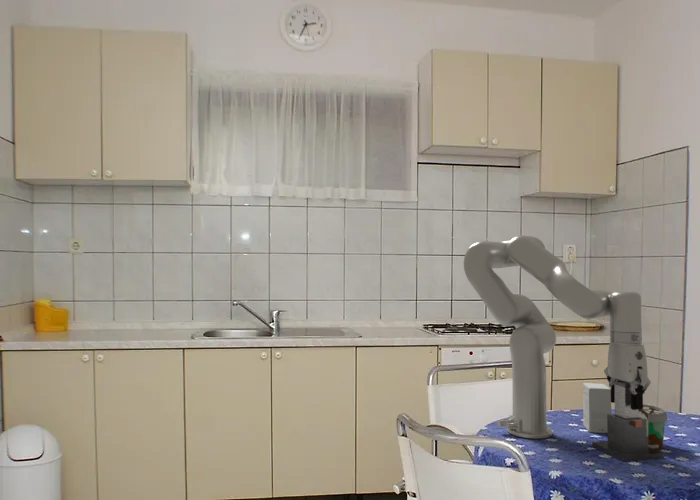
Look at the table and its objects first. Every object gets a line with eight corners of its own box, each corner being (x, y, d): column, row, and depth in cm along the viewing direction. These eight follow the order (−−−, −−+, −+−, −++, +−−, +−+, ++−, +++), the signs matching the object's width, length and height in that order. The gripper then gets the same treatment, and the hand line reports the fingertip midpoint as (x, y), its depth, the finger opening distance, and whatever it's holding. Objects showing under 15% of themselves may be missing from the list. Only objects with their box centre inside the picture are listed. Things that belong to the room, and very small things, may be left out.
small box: (612, 433, 165) (611, 389, 165) (589, 432, 166) (588, 388, 166) (604, 426, 172) (604, 383, 173) (582, 424, 174) (582, 382, 174)
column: (625, 449, 146) (624, 384, 146) (613, 444, 150) (612, 380, 151) (640, 448, 147) (639, 383, 147) (628, 443, 151) (627, 380, 152)
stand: (623, 461, 141) (622, 424, 141) (592, 446, 153) (592, 412, 153) (663, 457, 144) (663, 421, 144) (630, 443, 155) (629, 409, 156)
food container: (675, 454, 147) (674, 415, 147) (649, 452, 148) (649, 414, 148) (659, 440, 159) (658, 404, 159) (635, 438, 160) (635, 403, 160)
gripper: (662, 342, 142) (663, 413, 141) (615, 333, 158) (616, 397, 158) (637, 342, 140) (638, 415, 139) (592, 334, 157) (592, 398, 156)
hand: (626, 405), depth 149 cm, fingers open, 6 cm apart
